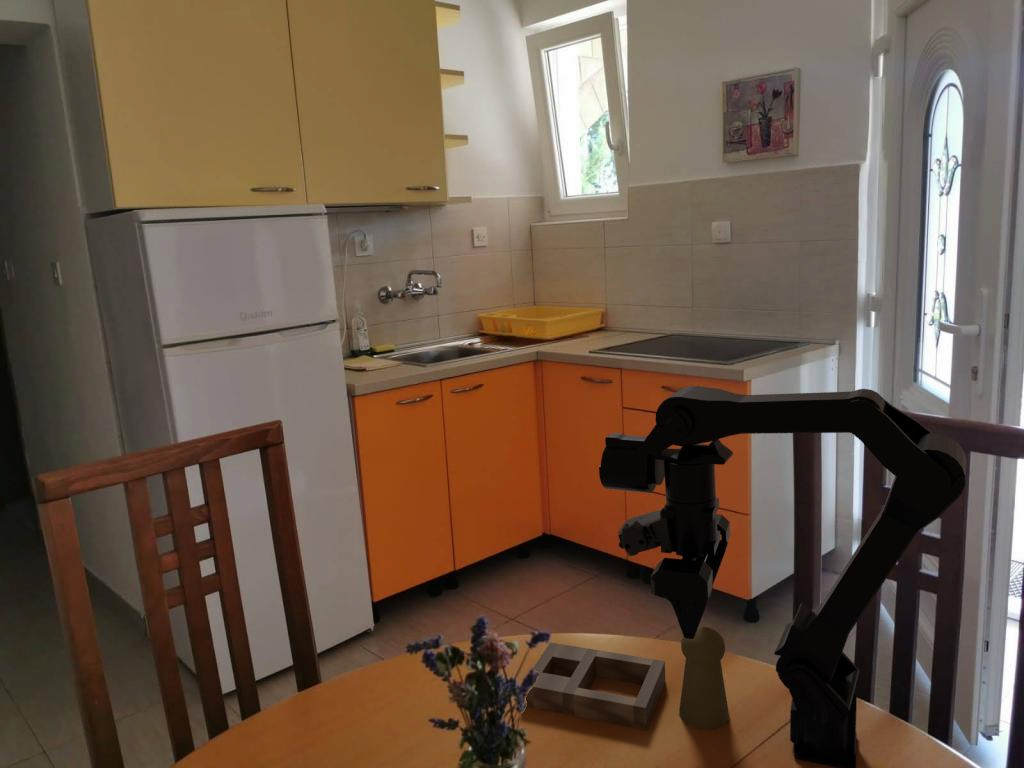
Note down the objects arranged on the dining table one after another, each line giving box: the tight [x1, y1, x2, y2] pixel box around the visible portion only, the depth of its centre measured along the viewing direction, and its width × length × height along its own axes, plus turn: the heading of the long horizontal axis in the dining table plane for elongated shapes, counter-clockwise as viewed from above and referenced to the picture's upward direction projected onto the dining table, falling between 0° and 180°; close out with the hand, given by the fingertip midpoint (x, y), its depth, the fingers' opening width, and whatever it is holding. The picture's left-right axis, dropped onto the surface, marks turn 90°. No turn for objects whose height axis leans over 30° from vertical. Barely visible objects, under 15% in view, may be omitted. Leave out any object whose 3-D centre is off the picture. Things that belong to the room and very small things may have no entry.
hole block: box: [526, 641, 666, 731], centre depth 103 cm, size 16×11×3 cm, turn 67°
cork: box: [678, 626, 730, 730], centre depth 96 cm, size 6×6×11 cm
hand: (696, 618), depth 95 cm, fingers open, 9 cm apart
